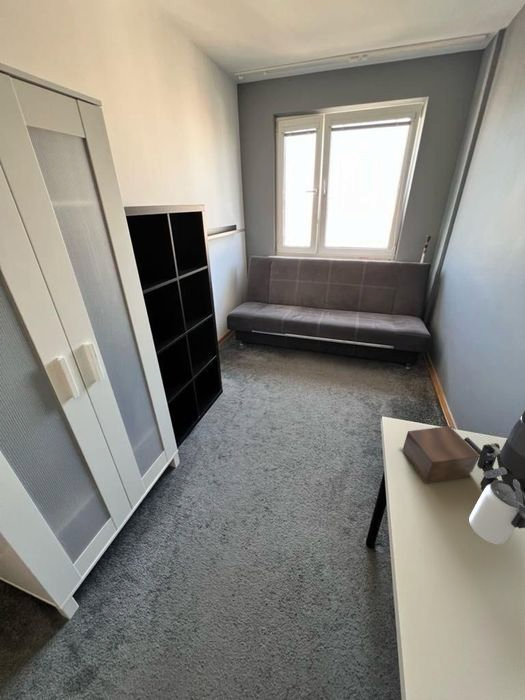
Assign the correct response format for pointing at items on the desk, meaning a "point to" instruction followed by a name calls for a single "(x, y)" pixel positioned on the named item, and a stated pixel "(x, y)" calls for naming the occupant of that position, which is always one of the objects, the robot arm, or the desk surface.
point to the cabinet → (439, 454)
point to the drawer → (473, 445)
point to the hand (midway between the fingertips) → (500, 506)
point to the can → (495, 513)
